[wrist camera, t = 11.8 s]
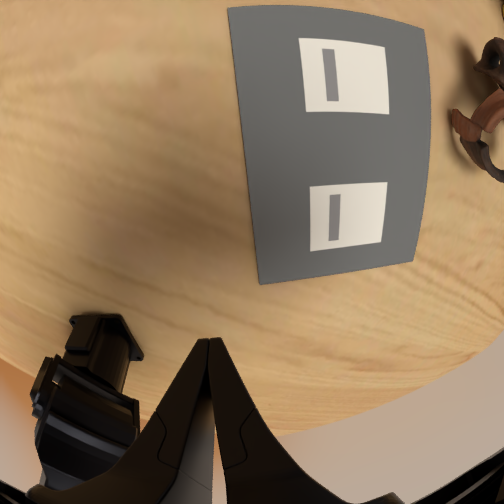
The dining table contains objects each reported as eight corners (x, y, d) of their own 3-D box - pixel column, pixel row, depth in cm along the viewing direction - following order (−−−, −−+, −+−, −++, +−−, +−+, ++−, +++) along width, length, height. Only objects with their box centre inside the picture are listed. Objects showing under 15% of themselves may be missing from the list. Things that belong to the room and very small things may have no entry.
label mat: (411, 259, 21) (413, 261, 21) (259, 283, 21) (259, 285, 21) (422, 29, 11) (423, 29, 11) (227, 8, 11) (227, 7, 11)
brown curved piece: (509, 139, 16) (544, 192, 11) (439, 140, 20) (465, 195, 16) (505, 32, 7) (560, 62, 3) (420, 25, 12) (461, 44, 8)
